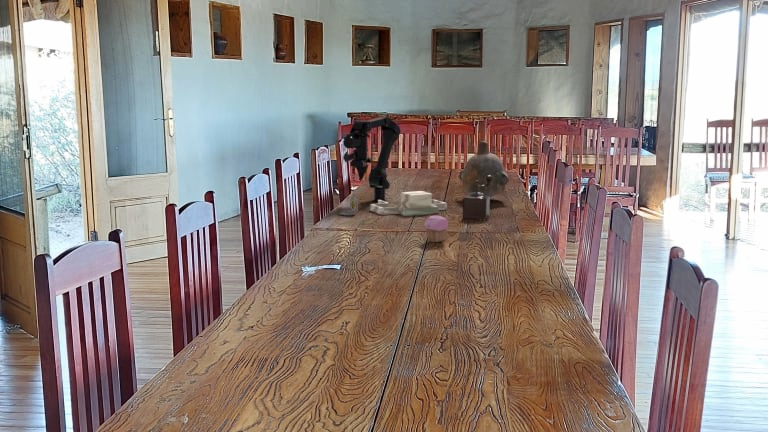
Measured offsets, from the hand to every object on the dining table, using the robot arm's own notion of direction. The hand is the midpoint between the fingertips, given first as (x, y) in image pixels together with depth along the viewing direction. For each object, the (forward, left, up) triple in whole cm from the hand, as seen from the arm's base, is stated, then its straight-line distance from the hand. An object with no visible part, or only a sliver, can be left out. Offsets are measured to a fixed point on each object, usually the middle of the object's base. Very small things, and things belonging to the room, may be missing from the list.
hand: (361, 179), depth 366 cm
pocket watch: (+28, +2, -12) cm, 31 cm away
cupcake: (+73, +48, -12) cm, 88 cm away
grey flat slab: (+8, +25, -12) cm, 29 cm away
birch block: (+13, +30, -12) cm, 35 cm away
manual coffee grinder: (+16, +58, -12) cm, 61 cm away
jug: (-29, +56, -12) cm, 64 cm away
